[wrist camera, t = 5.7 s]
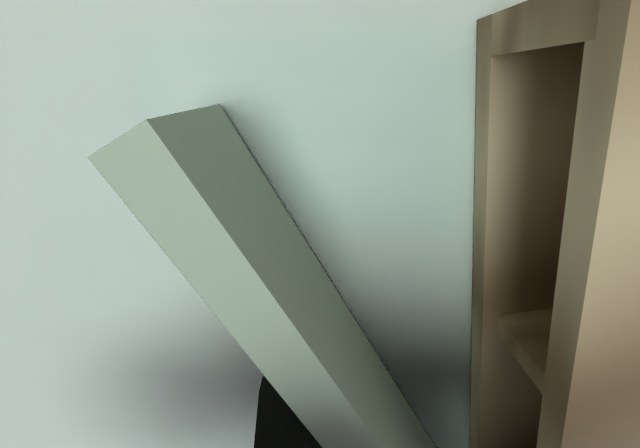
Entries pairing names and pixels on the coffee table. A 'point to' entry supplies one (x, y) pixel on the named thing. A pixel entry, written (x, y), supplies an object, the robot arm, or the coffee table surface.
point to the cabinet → (557, 227)
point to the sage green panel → (257, 275)
